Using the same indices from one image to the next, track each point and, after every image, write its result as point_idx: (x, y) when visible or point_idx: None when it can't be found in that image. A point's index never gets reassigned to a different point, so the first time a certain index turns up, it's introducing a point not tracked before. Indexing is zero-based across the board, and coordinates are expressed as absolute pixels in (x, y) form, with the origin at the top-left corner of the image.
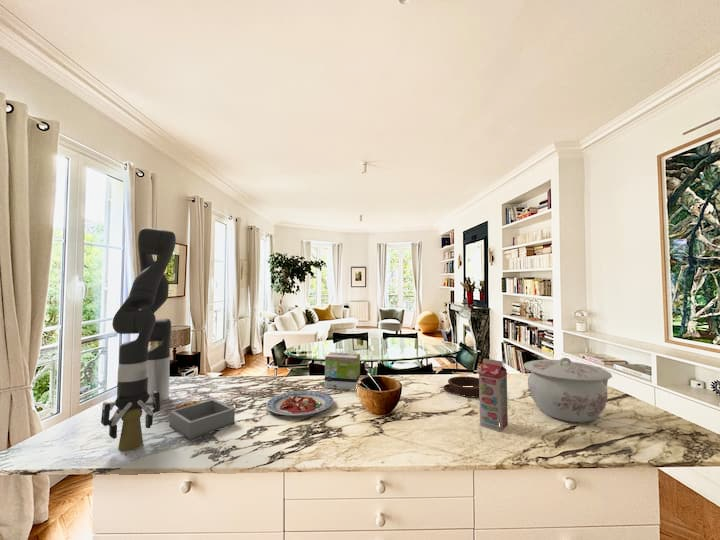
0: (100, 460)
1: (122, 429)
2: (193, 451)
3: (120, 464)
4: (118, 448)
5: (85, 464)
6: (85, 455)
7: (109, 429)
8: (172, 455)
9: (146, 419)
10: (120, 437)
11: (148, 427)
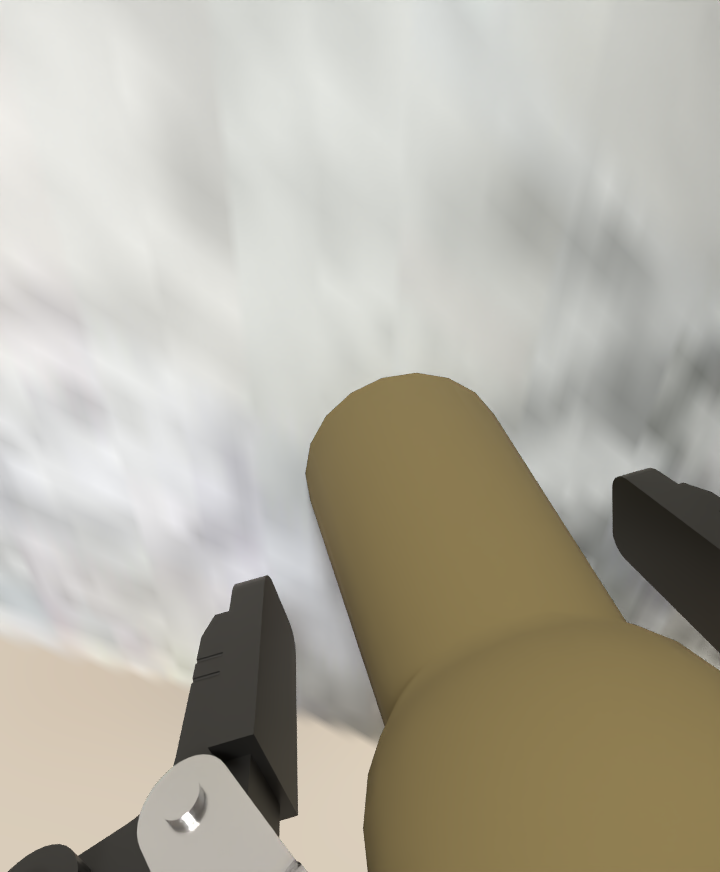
0: (191, 612)
1: (360, 650)
2: None
3: (328, 713)
4: (308, 488)
5: (89, 624)
6: (23, 457)
7: (192, 717)
8: None
9: (698, 567)
10: (329, 551)
11: (629, 554)
